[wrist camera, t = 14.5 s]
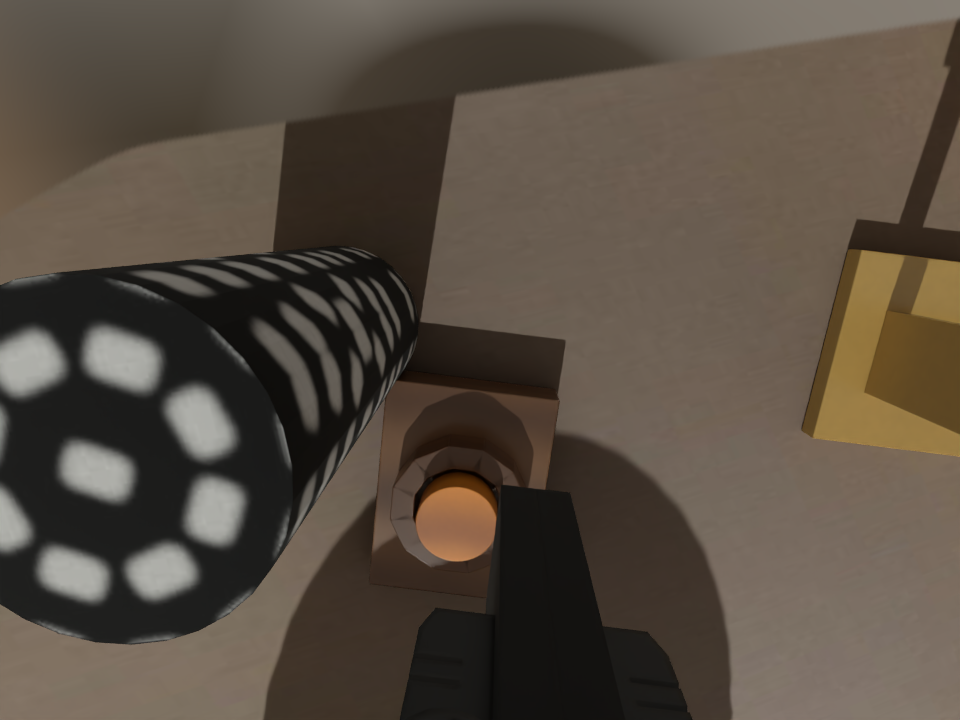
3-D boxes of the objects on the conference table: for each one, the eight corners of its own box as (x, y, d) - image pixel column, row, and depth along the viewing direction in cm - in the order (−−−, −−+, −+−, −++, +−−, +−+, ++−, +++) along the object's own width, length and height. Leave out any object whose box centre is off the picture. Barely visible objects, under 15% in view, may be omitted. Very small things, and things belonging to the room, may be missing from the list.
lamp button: (424, 467, 30) (419, 481, 28) (502, 476, 30) (502, 492, 28) (416, 538, 30) (411, 556, 29) (492, 547, 30) (491, 566, 29)
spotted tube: (250, 367, 32) (-123, 575, 13) (290, 223, 31) (-72, 210, 11) (391, 416, 33) (237, 690, 13) (439, 277, 31) (342, 357, 12)
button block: (394, 368, 32) (380, 387, 28) (555, 388, 32) (564, 410, 28) (376, 562, 35) (361, 604, 31) (525, 581, 35) (529, 625, 31)
